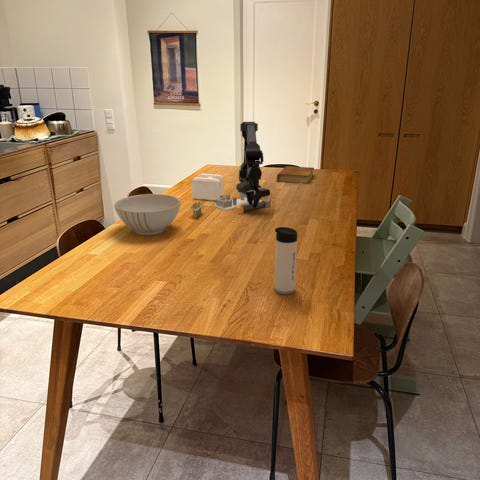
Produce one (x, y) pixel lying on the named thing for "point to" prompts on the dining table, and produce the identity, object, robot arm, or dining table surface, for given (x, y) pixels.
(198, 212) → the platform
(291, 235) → the travel mug
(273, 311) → the dining table surface
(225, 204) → the board
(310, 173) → the diary
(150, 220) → the decorative bowl
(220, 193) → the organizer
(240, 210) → the grey brown bar
